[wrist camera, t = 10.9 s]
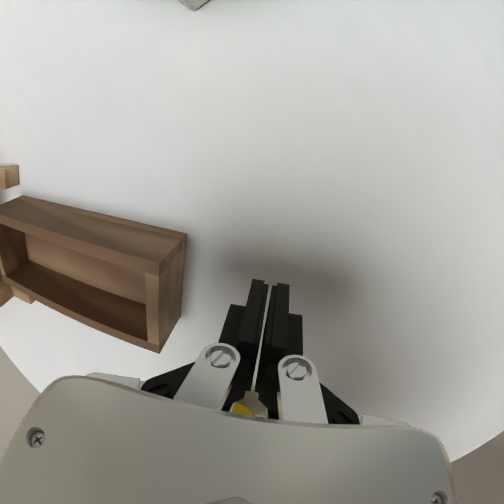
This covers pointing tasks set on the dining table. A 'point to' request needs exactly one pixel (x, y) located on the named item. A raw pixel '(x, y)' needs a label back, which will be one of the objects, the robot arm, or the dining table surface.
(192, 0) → the supplement box
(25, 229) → the brown wooden tray
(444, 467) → the robot arm
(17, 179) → the oak dock
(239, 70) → the dining table surface
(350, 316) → the dining table surface
